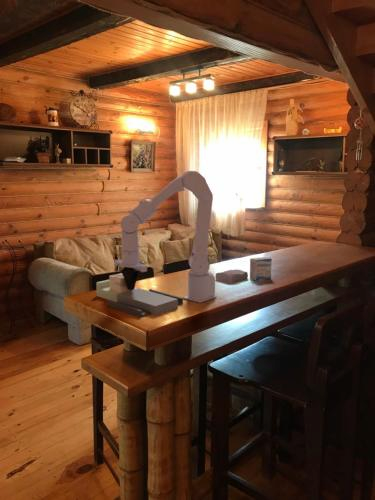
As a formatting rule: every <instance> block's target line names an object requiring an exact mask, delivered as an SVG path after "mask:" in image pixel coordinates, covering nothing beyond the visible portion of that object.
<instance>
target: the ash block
mask: <svg viewBox="0 0 375 500" xmlns="http://www.w3.org/2000/svg"><path fill="white" fill-rule="evenodd" d="M108 277H109V278H108V280H110V290H113V291H116V292H119V293H122V292H126V291H130V290H128V288H127V285H126V282H125V279H124V276H123V275H122V273H121V272H120V273H116V274H115V273H114V274H111V275H109V276H108ZM132 290H134V289H132Z"/></svg>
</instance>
